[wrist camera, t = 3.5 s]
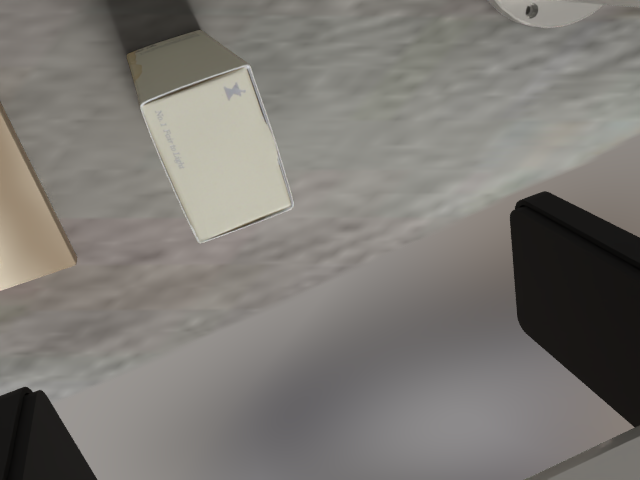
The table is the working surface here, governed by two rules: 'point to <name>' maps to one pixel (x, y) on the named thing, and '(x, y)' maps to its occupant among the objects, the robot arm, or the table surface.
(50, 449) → the robot arm
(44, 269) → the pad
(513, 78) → the table surface
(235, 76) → the skincare box
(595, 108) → the table surface
